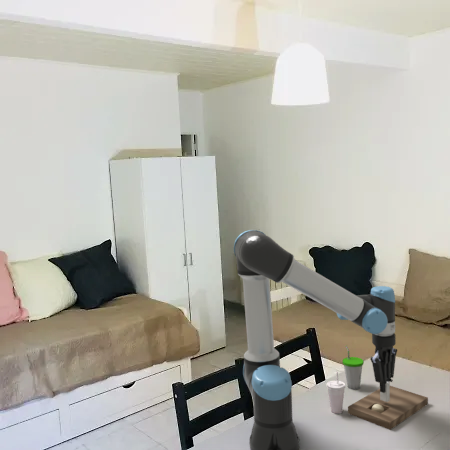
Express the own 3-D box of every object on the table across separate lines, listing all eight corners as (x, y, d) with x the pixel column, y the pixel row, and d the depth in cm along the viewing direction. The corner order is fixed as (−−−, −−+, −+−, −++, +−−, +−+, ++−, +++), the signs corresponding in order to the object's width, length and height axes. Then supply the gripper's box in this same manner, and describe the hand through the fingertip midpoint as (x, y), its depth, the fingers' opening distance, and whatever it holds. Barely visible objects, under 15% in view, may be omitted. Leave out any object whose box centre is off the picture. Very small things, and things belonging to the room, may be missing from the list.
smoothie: (346, 415, 174) (345, 375, 173) (327, 414, 176) (325, 375, 174) (345, 407, 181) (344, 368, 179) (327, 406, 182) (325, 367, 180)
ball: (378, 415, 170) (382, 403, 171) (367, 411, 173) (372, 400, 174) (383, 420, 172) (387, 408, 173) (373, 416, 175) (377, 405, 176)
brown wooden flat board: (390, 429, 164) (390, 422, 163) (348, 413, 176) (347, 406, 175) (427, 404, 179) (427, 397, 179) (386, 391, 191) (386, 384, 191)
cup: (365, 391, 192) (364, 352, 190) (343, 391, 193) (342, 352, 192) (363, 382, 200) (362, 345, 198) (342, 382, 201) (341, 345, 199)
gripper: (382, 340, 166) (384, 410, 169) (404, 330, 175) (405, 397, 177) (362, 335, 172) (364, 403, 174) (384, 325, 180) (385, 390, 183)
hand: (384, 400), depth 176 cm, fingers closed
